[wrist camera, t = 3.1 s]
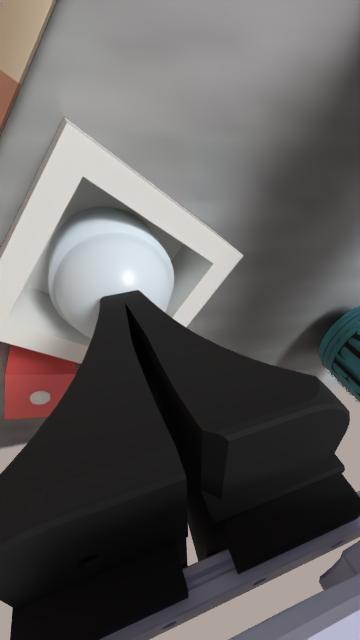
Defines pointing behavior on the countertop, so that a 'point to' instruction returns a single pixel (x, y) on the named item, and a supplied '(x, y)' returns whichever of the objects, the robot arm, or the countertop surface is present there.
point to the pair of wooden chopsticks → (19, 45)
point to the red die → (35, 383)
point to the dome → (105, 264)
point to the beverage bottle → (344, 351)
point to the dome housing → (81, 194)
